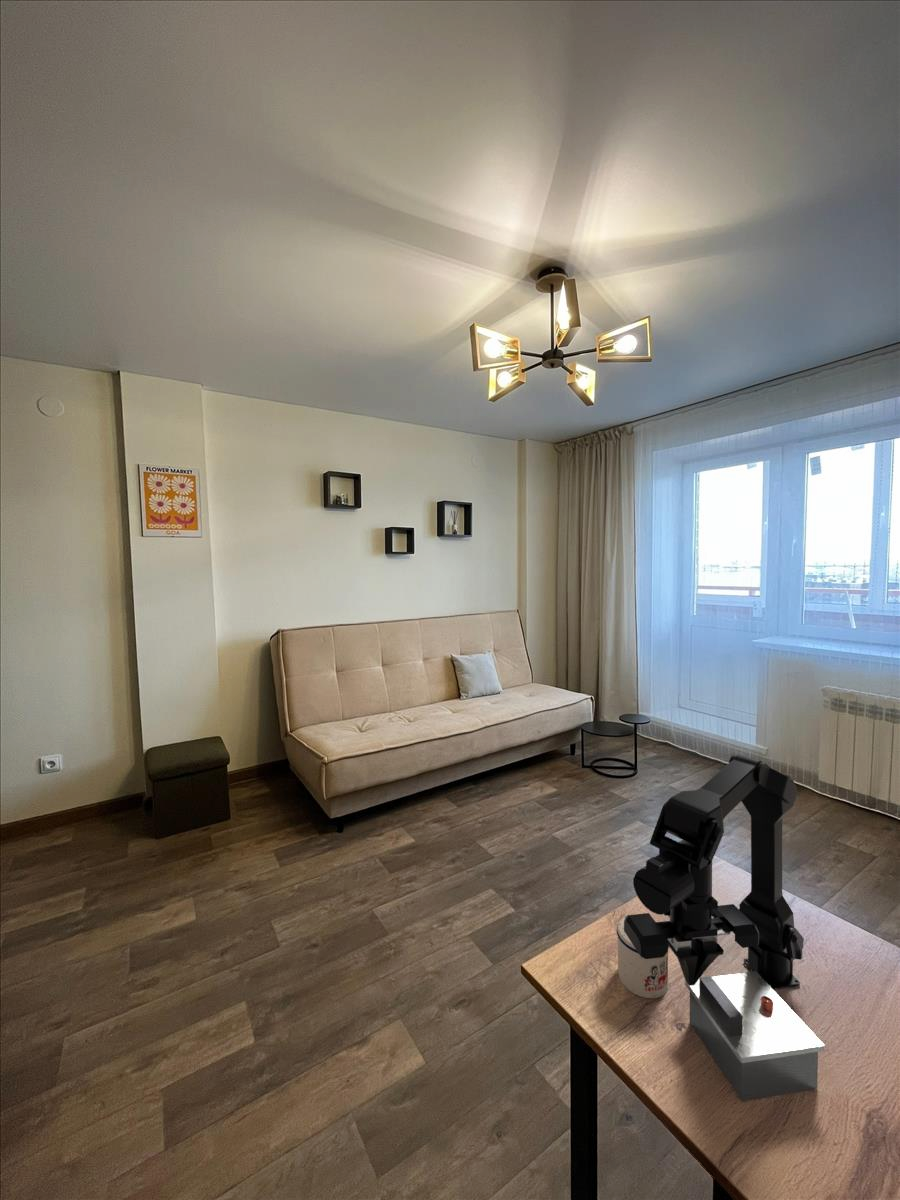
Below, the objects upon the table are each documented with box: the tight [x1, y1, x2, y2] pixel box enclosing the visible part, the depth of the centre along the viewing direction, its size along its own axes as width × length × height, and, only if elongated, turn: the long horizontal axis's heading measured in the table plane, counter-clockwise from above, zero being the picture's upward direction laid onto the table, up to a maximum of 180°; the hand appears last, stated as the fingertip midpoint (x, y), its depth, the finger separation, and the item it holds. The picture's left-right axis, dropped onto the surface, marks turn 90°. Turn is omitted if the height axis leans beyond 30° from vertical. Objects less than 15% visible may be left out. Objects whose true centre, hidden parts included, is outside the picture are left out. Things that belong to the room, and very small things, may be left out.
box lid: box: [684, 971, 826, 1063], centre depth 74 cm, size 13×13×4 cm
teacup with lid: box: [616, 917, 670, 999], centre depth 89 cm, size 12×9×12 cm
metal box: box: [689, 991, 819, 1102], centre depth 74 cm, size 12×12×6 cm
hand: (689, 983), depth 73 cm, fingers closed
